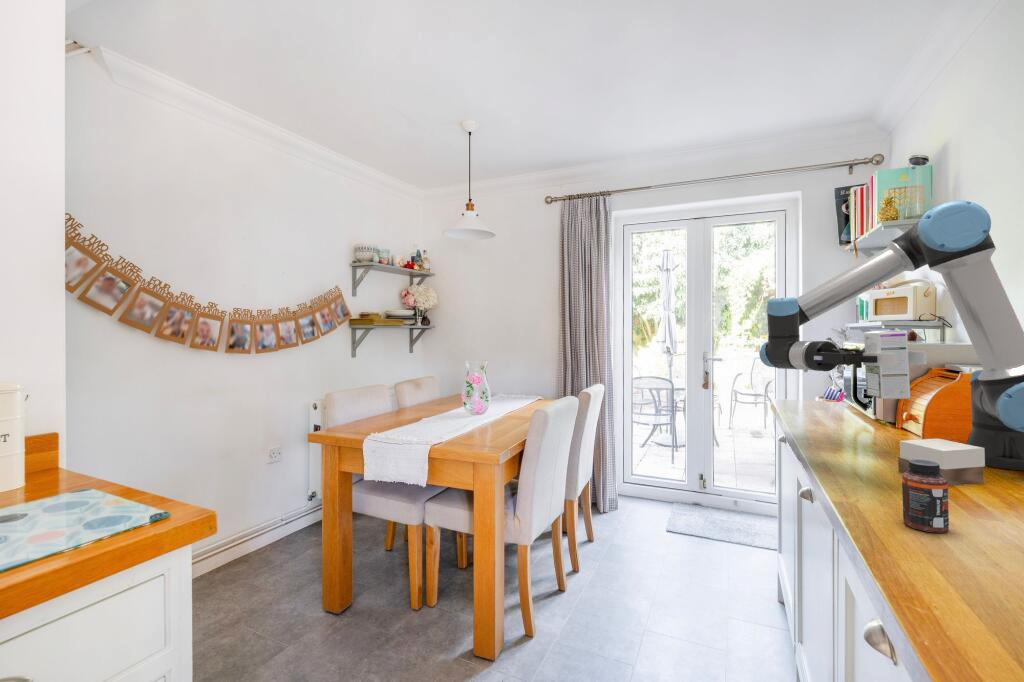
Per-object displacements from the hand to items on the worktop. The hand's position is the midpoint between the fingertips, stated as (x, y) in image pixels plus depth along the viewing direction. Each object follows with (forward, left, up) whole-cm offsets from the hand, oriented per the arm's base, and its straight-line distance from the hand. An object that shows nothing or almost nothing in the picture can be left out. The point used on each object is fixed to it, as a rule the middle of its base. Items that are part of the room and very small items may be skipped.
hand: (910, 358), depth 96 cm
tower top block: (-14, -8, -24) cm, 29 cm away
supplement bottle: (+13, +15, -28) cm, 35 cm away
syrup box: (+1, -5, -9) cm, 10 cm away
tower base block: (-14, -9, -28) cm, 33 cm away
